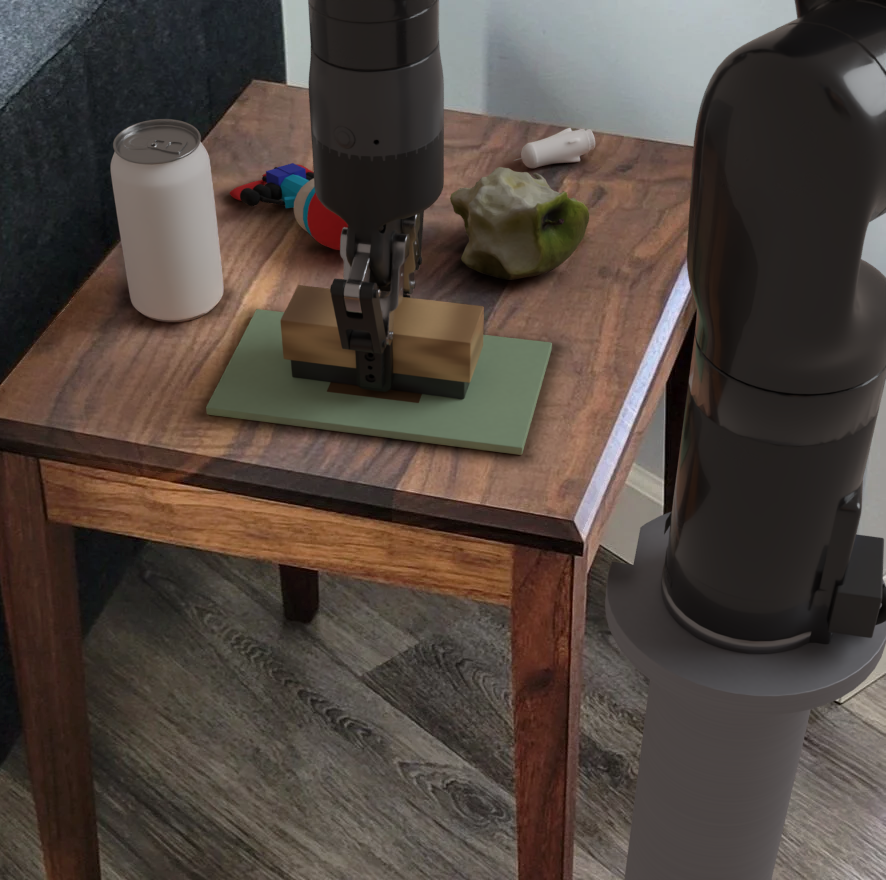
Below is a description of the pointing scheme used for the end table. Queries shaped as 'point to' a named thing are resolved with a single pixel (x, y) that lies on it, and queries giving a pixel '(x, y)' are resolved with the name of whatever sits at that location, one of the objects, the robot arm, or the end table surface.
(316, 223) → the toy figure
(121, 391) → the end table surface
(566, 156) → the small white plastic part
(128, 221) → the can
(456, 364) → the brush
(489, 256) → the fruit
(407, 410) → the mat
